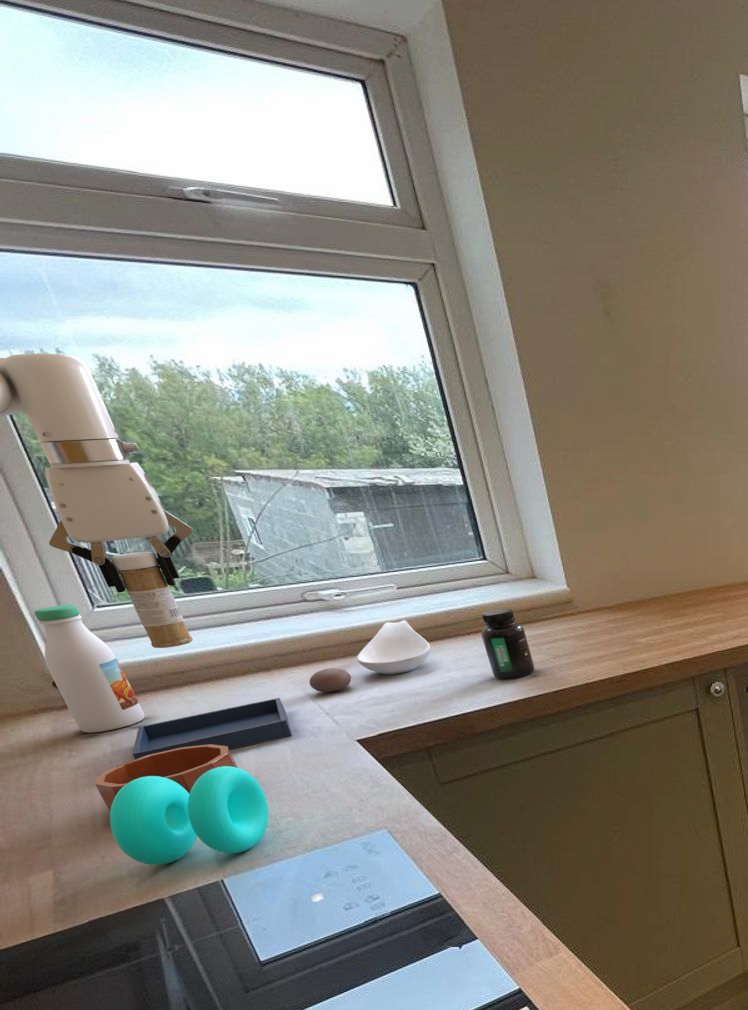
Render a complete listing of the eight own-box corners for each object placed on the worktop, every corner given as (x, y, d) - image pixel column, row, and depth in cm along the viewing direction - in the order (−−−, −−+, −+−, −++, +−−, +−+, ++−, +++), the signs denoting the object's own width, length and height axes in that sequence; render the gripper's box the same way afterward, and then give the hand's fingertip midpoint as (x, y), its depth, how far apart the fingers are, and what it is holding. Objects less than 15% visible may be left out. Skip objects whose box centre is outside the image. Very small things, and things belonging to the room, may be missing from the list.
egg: (306, 694, 146) (297, 673, 144) (341, 683, 151) (333, 663, 149) (327, 697, 144) (319, 676, 142) (362, 686, 149) (354, 665, 147)
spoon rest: (434, 672, 155) (422, 635, 153) (359, 684, 150) (346, 647, 147) (439, 643, 174) (429, 611, 171) (373, 653, 169) (361, 620, 166)
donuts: (240, 866, 90) (201, 787, 86) (130, 884, 88) (86, 802, 84) (284, 825, 99) (251, 751, 95) (186, 839, 97) (148, 764, 93)
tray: (140, 770, 117) (132, 754, 116) (145, 742, 127) (138, 726, 126) (292, 735, 127) (285, 720, 126) (285, 711, 138) (279, 697, 137)
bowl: (110, 832, 99) (91, 795, 97) (118, 799, 108) (100, 765, 106) (244, 797, 107) (229, 763, 105) (241, 769, 116) (227, 737, 114)
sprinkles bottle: (173, 640, 122) (132, 551, 117) (202, 639, 122) (163, 550, 117) (143, 649, 118) (99, 557, 113) (173, 648, 118) (131, 556, 113)
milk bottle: (113, 733, 131) (51, 612, 123) (67, 734, 132) (2, 614, 124) (159, 715, 138) (103, 600, 131) (115, 716, 139) (57, 602, 131)
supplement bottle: (513, 681, 148) (494, 617, 143) (485, 678, 150) (466, 615, 145) (543, 669, 154) (526, 607, 149) (516, 667, 156) (498, 606, 151)
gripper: (172, 449, 117) (224, 574, 125) (-2, 459, 107) (66, 594, 114) (170, 450, 112) (225, 581, 119) (-13, 460, 102) (59, 603, 109)
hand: (146, 586), depth 117 cm, fingers closed on sprinkles bottle, 4 cm apart
